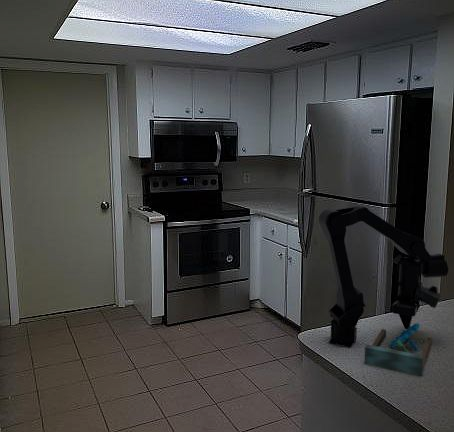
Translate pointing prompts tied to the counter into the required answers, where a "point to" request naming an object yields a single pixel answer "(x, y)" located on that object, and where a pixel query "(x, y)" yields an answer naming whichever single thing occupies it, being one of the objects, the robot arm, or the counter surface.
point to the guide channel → (396, 356)
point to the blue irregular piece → (405, 338)
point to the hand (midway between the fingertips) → (406, 328)
